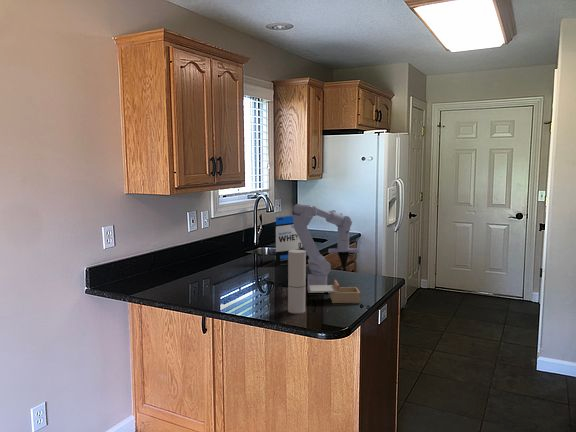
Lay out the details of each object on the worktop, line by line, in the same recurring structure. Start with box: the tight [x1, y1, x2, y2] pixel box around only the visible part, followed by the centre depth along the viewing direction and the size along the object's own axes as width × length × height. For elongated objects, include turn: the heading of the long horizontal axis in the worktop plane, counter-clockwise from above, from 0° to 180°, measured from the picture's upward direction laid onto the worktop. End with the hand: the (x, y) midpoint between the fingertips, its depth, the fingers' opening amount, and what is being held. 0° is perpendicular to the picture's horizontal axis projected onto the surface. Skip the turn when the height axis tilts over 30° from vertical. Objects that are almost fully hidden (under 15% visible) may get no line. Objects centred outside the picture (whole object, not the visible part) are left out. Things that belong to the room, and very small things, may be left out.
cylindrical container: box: [287, 249, 307, 314], centre depth 197 cm, size 7×7×25 cm
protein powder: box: [275, 215, 303, 268], centre depth 294 cm, size 10×24×30 cm, turn 137°
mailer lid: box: [309, 279, 340, 293], centre depth 213 cm, size 12×10×3 cm
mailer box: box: [329, 286, 361, 304], centre depth 213 cm, size 12×10×5 cm
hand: (343, 267), depth 236 cm, fingers closed
